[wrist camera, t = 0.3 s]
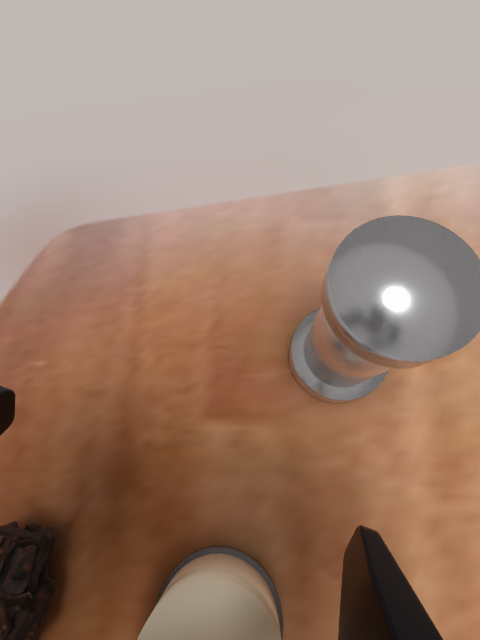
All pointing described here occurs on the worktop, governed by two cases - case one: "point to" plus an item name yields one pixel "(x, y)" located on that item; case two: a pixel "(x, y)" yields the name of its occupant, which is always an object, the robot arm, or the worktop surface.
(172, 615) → the fitting stand
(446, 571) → the worktop surface
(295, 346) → the metal knob
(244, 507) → the worktop surface
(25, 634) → the brown and green club
